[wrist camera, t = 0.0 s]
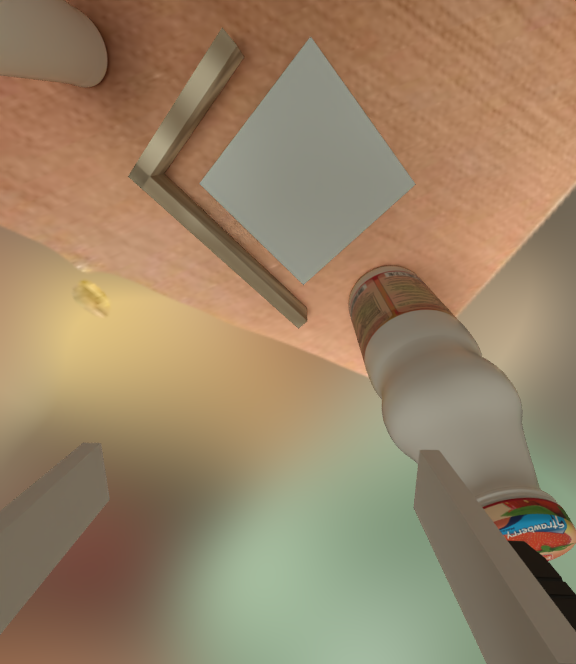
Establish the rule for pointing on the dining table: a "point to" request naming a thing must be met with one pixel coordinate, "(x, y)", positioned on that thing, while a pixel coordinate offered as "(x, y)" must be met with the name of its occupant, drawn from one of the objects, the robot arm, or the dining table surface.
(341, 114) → the pad
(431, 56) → the dining table surface
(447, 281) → the dining table surface
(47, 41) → the drinking glass
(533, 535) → the fruit juice
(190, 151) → the dining table surface
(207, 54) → the birch walls
